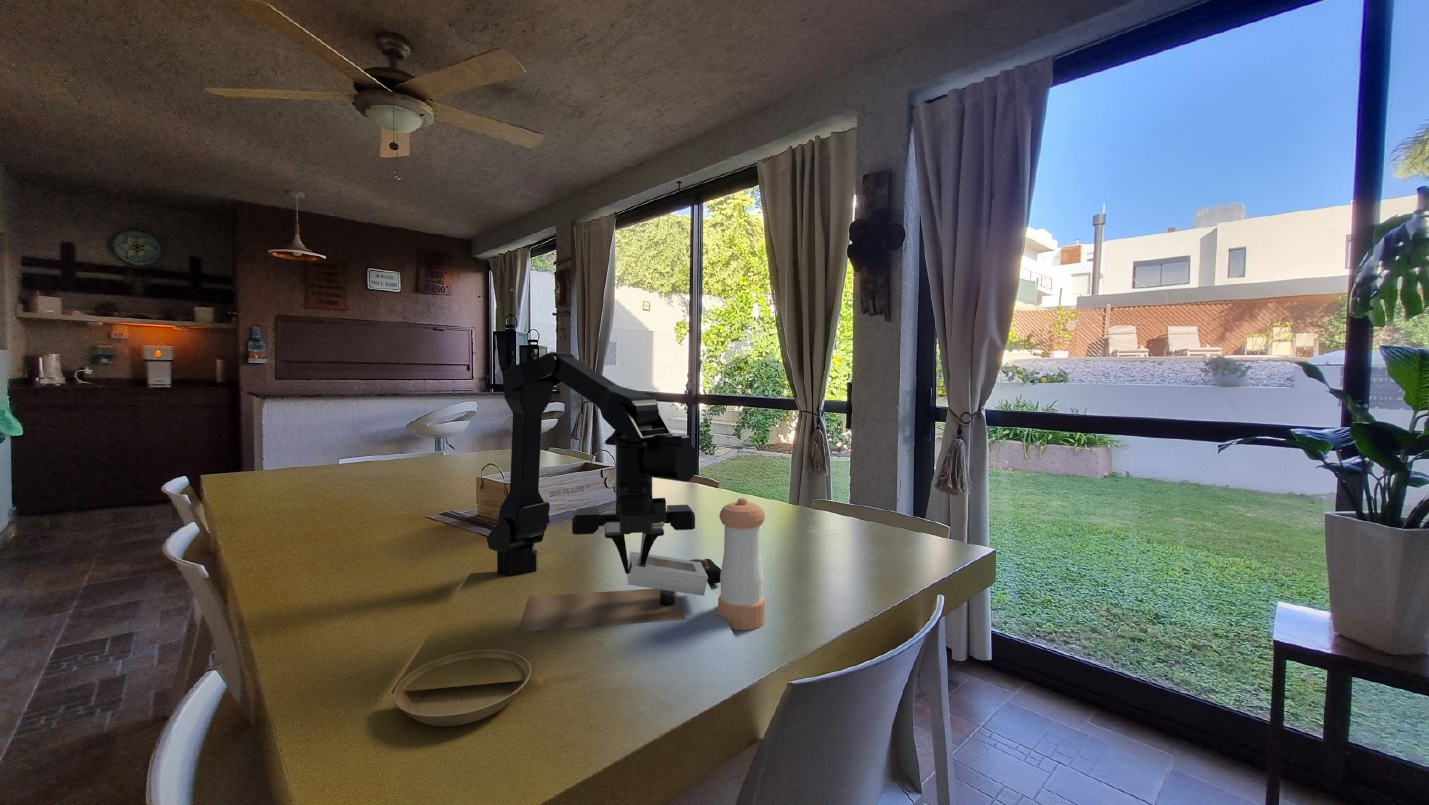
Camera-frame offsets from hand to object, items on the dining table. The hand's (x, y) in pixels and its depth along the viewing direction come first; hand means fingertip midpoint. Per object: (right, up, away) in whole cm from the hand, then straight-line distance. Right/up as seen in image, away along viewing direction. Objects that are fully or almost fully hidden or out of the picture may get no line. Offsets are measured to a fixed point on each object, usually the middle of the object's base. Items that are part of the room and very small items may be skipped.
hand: (633, 572), depth 91 cm
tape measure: (+11, -7, +15) cm, 20 cm away
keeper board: (-5, -7, -1) cm, 8 cm away
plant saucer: (-17, -8, -23) cm, 30 cm away
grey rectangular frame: (+5, -2, +1) cm, 5 cm away
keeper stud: (+5, -5, +1) cm, 7 cm away
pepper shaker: (+17, -7, -2) cm, 18 cm away
